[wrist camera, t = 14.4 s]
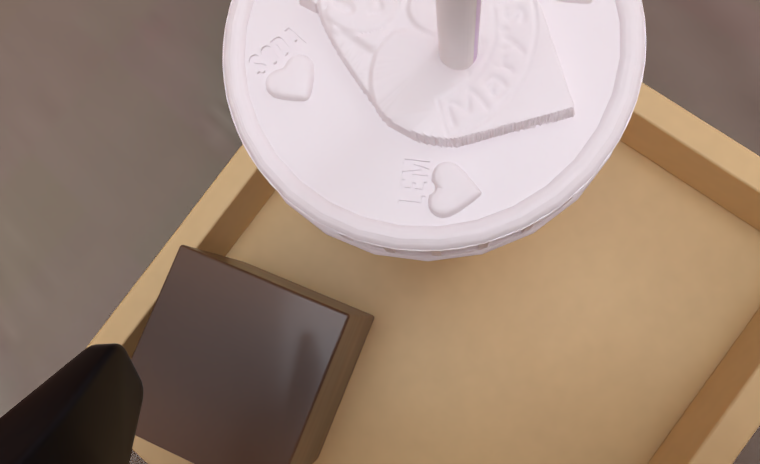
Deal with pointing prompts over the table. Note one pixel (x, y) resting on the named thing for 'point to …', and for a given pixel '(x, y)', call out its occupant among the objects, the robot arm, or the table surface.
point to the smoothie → (432, 112)
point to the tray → (531, 314)
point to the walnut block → (243, 363)
